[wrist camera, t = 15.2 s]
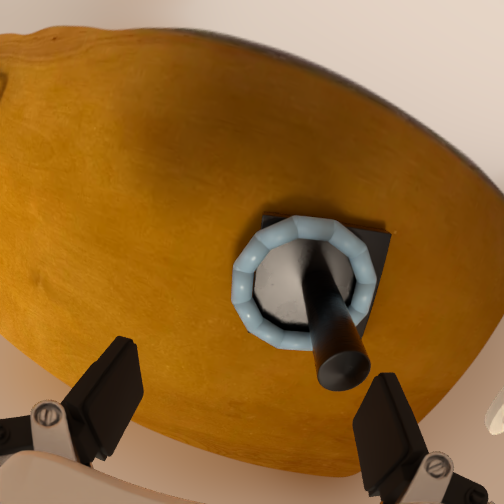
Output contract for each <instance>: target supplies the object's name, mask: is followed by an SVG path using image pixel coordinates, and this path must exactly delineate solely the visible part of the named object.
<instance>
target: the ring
mask: <svg viewBox="0 0 504 504" xmlns="http://www.w3.org/2000/svg"><path fill="white" fill-rule="evenodd" d="M297 238H302V239H312V240H321V241H328V242H329V243H331V244H332V245H333V246H335V247H336V248H337V249H338V250H340V251H341V252H342V253H344V254H345V255H346V256H348V257H349V260H350V263H351V266H352V268H353V271H354V274H355V277H356V285H355V289H354V294H353V298H352V302H351V304H350V306H349V307H348V308H347V309H348V311H349V313H350V315H351V318H352V320H353V322H354V324H355V327H356V326H357V325H358V324H359V322H360V321H361V320H362V319H363V318H364V317H365V316H366V315H367V314H368V311H369V308H370V305H371V301H372V297H373V293H374V289H375V285H376V281H377V277H376V274H375V270H374V267H373V264H372V261H371V258H370V255H369V251H368V248H367V246H366V244H365V243H364V242H363V241H362V240H360V239H359V238H358V237H357V236H356V235H354V234H353V233H352V232H351V231H349V230H348V229H347V228H346V227H344V226H343V225H342V224H341V223H339V222H338V221H336V220H333V219H325V218H317V217H308V216H299V215H295V216H291V217H289V218H287V219H285V220H282V221H280V222H278V223H275V224H273V225H271V226H269V227H266V228H264V229H262V230H260V231H258V232H256V233H255V235H254V236H253V237H252V239H251V240H250V241H249V243H248V244H247V246H246V247H245V248H244V250H243V251H242V253H241V254H240V255H239V257H238V258H237V259H236V261H235V262H234V265H233V275H232V292H231V301H232V303H233V305H234V307H235V309H236V311H237V312H238V314H239V316H240V318H241V320H242V321H243V323H244V325H245V327H246V328H247V330H248V331H249V332H250V333H252V334H254V335H255V336H257V337H259V338H260V339H262V340H264V341H265V342H267V343H269V344H271V345H272V346H274V347H276V348H279V349H290V350H304V351H313V348H312V343H311V337H310V332H299V331H287V330H283V329H281V328H279V327H278V326H276V325H274V324H273V323H271V322H270V321H268V320H266V319H265V318H263V317H262V315H261V313H260V311H259V309H258V307H257V305H256V303H255V301H254V299H253V298H252V290H253V279H254V271H255V270H256V269H257V267H258V266H259V265H260V264H261V262H262V261H263V260H264V258H265V257H266V256H267V254H268V253H269V252H270V250H272V249H274V248H276V247H279V246H281V245H283V244H286V243H288V242H290V241H293V240H295V239H297Z"/></svg>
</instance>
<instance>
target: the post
mask: <svg viewBox="0 0 504 504" xmlns="http://www.w3.org/2000/svg"><path fill="white" fill-rule="evenodd" d="M291 216H294V215H286V214H279V213H271V212H263V215H262V223H261V230H262V229H264V228H266V227H269V226H271V225H273V224H275V223H278V222H280V221H282V220H285V219H287V218H289V217H291ZM339 223H341V222H339ZM341 224H342V225H343V226H344V227H346V228H347V229H348V230H349V231H351V232H352V233H353V234H354V235H356V236H357V237H358V238H359V239H360V240H362V241H363V242H364V243H365V244H366V246H367V248H368V251H369V255H370V258H371V261H372V264H373V267H374V270H375V274H376V277H377V281H376V285H375V289H374V293H373V297H372V301H371V305H370V308H369V311H368V314H367V315H366V316H365V317H364V318H363V319H362V320H361V321H360V322H359V324H358V325H357V326H356V327H355V324H354V322H353V320H352V318H351V315H350V313H349V311H348V309H347V308H348V307H349V306H350V304H351V302H352V298H353V294H354V289H355V285H356V277H355V274H354V271H353V268H352V266H351V263H350V260H349V257H348V256H346V255H345V254H344V253H342V252H341V251H340V250H338V249H337V248H336V247H335V246H333V245H332V244H331V243H329V242H328V241H321V240H312V239H302V238H297V239H295V240H293V241H290V242H288V243H286V244H283V245H281V246H279V247H276V248H274V249H272V250H270V252H269V253H268V254H267V256H266V257H265V258H264V260H263V261H262V262H261V264H260V265H259V266H258V267H257V269H256V271H255V279H254V287H253V295H252V298H253V299H254V301H255V303H256V305H257V307H258V309H259V311H260V313H261V315H262V317H263V318H265V319H266V320H268V321H270V322H271V323H273V324H274V325H276V326H278V327H279V328H281V329H283V330H287V331H299V332H310V337H311V343H312V348H313V354H314V360H315V366H316V372H317V378H318V381H319V383H320V384H321V385H322V386H323V387H324V388H326V389H328V390H331V391H345V390H349V389H352V388H354V387H356V386H358V385H359V384H360V383H362V382H363V381H364V380H365V379H366V377H367V376H368V374H369V372H370V368H371V363H370V360H369V357H368V355H367V353H366V350H365V348H364V345H363V343H362V341H361V339H362V336H363V333H364V330H365V327H366V324H367V321H368V318H369V315H370V312H371V309H372V306H373V302H374V299H375V296H376V292H377V289H378V286H379V282H380V278H381V275H382V271H383V267H384V263H385V259H386V255H387V251H388V247H389V243H390V238H391V234H390V233H389V232H388V231H386V230H383V229H377V228H371V227H365V226H359V225H353V224H347V223H341ZM248 333H250V332H249V331H248Z"/></svg>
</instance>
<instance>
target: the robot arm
mask: <svg viewBox="0 0 504 504" xmlns="http://www.w3.org/2000/svg"><path fill="white" fill-rule="evenodd" d="M143 393H144V390H143V384H142V378H141V372H140V365H139V358H138V351H137V345H136V344H134V343H133V340H132V339H129V338H126V337H122V336H117V337H116V338H115V340H114V341H113V342H112V343H111V344H110V346H109V347H108V348H107V349H106V350H105V352H104V353H103V354H102V355H101V356H100V358H99V359H98V360H97V361H96V362H94V363H93V364H92V365H91V366H90V367H89V368H88V370H87V371H86V372H85V373H84V374H83V376H82V377H81V378H80V379H79V381H78V382H77V383H76V384H75V386H74V387H73V388H72V389H71V391H70V392H69V393H68V395H67V396H66V397H65V398H64V400H63V401H62V402H61V403H58V402H57V401H53V400H43V401H40V402H38V403H37V404H35V405H34V407H33V408H32V410H31V415H27V416H21V417H14V418H7V419H0V504H205V503H200V502H195V501H190V500H186V499H181V498H178V497H174V496H170V495H166V494H162V493H159V492H156V491H152V490H149V489H146V488H143V487H140V486H137V485H134V484H131V483H128V482H126V481H123V480H120V479H117V478H115V477H112V476H110V475H107V474H104V473H102V472H100V471H97V470H95V469H94V468H93V465H92V462H93V460H94V458H95V457H96V458H98V459H100V460H103V461H105V460H106V458H107V456H111V455H112V454H113V452H114V450H115V448H116V447H117V444H118V443H119V441H120V439H121V437H122V435H123V433H124V431H125V429H126V427H127V426H128V424H129V422H130V420H131V418H132V416H133V414H134V412H135V410H136V409H137V407H138V405H139V403H140V401H141V399H142V397H143ZM502 422H503V424H504V417H503V421H502ZM353 431H354V436H355V441H356V446H357V451H358V456H359V461H360V467H361V472H362V478H363V483H364V489H365V490H366V491H368V492H369V497H373V496H380V497H381V502H380V504H495V503H494V502H492V501H491V502H490V503H489V502H488V493H487V490H486V489H485V488H484V487H483V486H482V485H480V484H478V483H475V482H473V481H471V480H469V479H467V478H465V477H462V476H460V475H458V474H456V473H454V472H453V470H454V465H453V462H452V460H451V458H450V457H449V456H448V455H446V454H445V453H442V452H432V453H429V452H428V450H427V447H426V444H425V442H424V439H423V436H422V434H421V431H420V429H419V426H418V424H417V421H416V419H415V417H414V414H413V412H412V410H411V407H410V406H409V404H408V401H407V399H406V397H405V395H404V392H403V390H402V388H401V386H400V383H399V381H398V379H397V377H396V375H395V373H380V374H379V375H378V376H375V377H374V379H373V381H372V384H371V386H370V388H369V390H368V392H367V394H366V396H365V398H364V400H363V402H362V404H361V406H360V408H359V409H358V411H357V413H356V415H355V417H354V419H353Z"/></svg>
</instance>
